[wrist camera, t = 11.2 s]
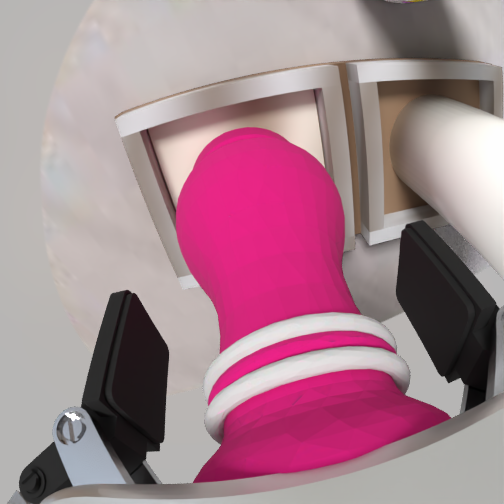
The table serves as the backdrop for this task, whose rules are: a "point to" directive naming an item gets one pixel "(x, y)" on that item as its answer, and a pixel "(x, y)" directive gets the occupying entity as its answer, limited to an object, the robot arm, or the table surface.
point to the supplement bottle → (404, 1)
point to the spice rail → (305, 134)
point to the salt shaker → (455, 167)
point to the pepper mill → (286, 316)
